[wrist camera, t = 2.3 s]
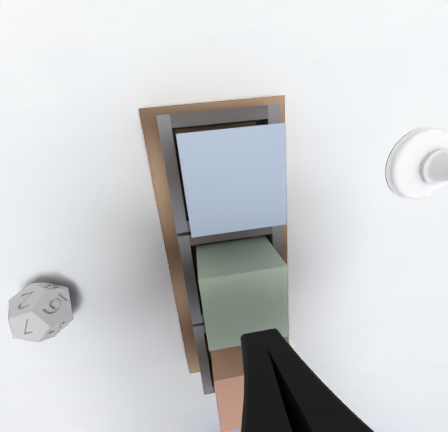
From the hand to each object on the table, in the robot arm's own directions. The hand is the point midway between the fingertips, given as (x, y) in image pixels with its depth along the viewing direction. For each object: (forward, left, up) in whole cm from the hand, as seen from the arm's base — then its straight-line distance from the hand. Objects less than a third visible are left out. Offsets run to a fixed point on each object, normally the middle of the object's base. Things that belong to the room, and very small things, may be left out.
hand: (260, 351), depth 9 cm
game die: (-11, +6, -9) cm, 15 cm away
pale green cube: (0, 0, -6) cm, 6 cm away
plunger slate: (+4, +5, -6) cm, 8 cm away
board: (0, 0, -9) cm, 9 cm away
